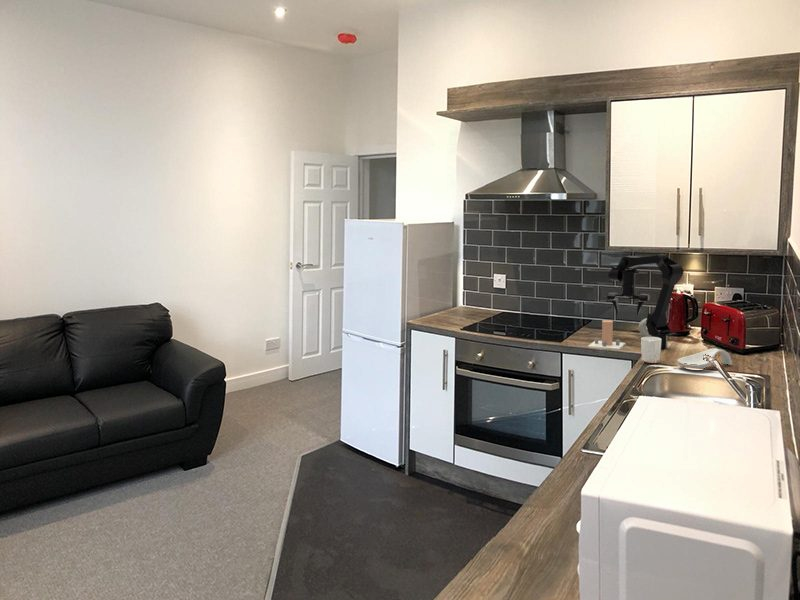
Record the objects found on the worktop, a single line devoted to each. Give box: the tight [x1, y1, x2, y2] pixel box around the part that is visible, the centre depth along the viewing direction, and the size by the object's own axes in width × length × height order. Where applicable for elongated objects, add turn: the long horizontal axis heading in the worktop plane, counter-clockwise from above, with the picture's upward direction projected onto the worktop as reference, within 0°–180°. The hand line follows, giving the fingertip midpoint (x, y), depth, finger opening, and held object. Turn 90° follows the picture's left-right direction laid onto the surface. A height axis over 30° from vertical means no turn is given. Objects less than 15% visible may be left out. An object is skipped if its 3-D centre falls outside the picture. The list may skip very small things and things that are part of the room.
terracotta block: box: [601, 319, 614, 345], centre depth 290 cm, size 5×5×11 cm
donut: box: [638, 317, 660, 337], centre depth 306 cm, size 10×4×10 cm, turn 64°
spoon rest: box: [677, 347, 733, 368], centre depth 248 cm, size 24×12×7 cm, turn 112°
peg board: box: [587, 337, 627, 351], centre depth 291 cm, size 14×14×3 cm
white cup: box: [640, 336, 662, 361], centre depth 258 cm, size 8×8×10 cm
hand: (627, 314), depth 299 cm, fingers open, 9 cm apart
